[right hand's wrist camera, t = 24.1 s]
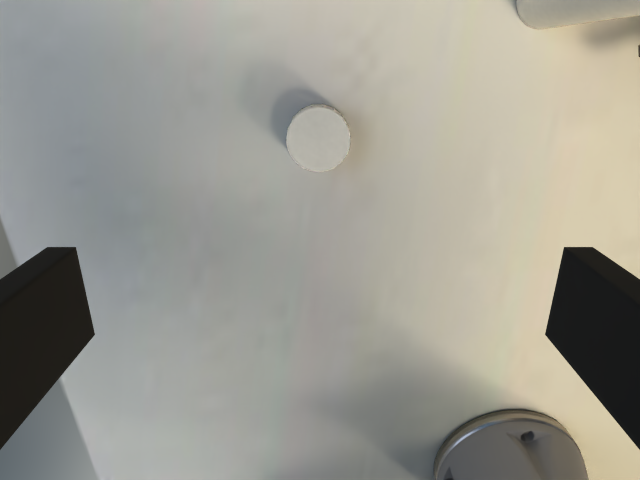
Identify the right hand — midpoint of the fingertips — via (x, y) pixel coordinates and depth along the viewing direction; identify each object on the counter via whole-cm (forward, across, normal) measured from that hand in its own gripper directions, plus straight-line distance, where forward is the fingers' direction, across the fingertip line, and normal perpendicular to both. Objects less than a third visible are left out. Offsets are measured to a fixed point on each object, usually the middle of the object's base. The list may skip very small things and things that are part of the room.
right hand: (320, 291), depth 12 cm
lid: (+24, 0, 0) cm, 24 cm away
